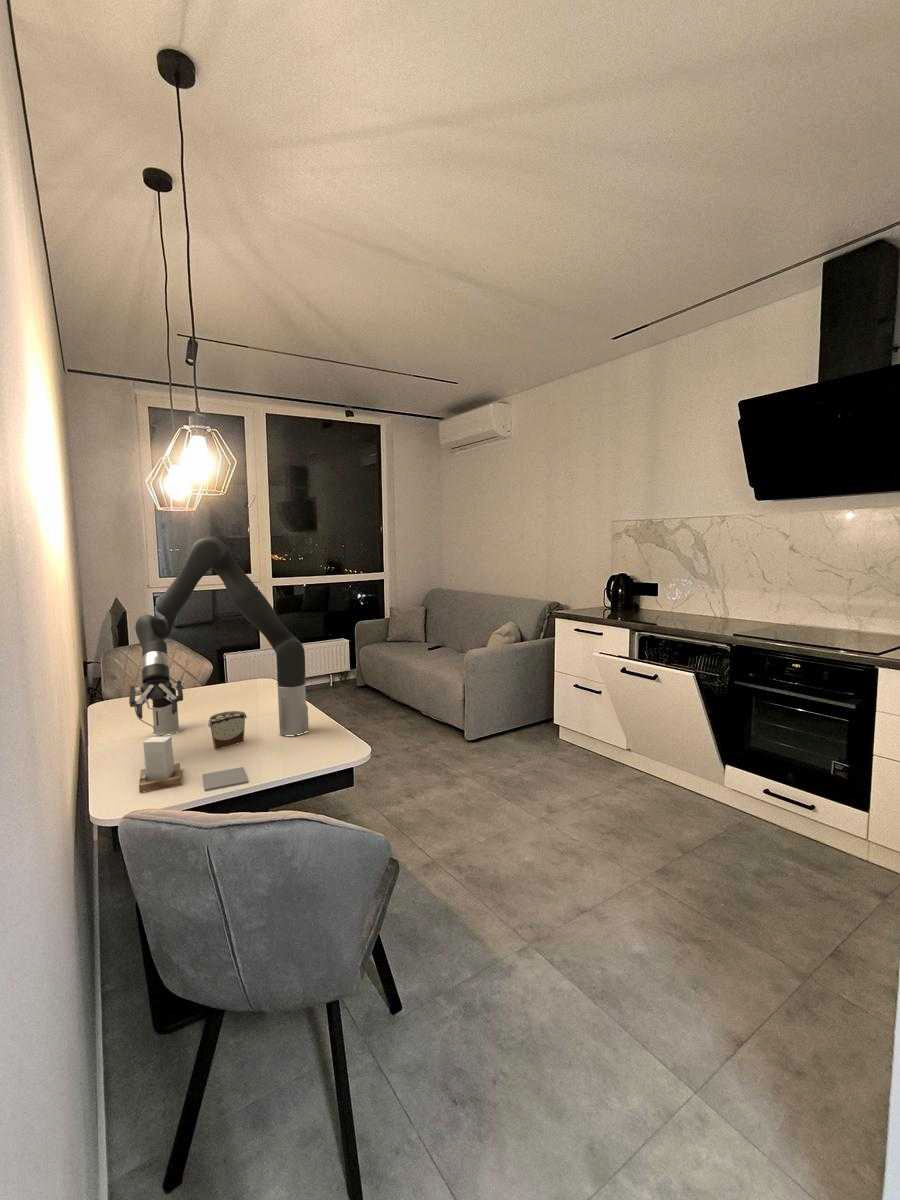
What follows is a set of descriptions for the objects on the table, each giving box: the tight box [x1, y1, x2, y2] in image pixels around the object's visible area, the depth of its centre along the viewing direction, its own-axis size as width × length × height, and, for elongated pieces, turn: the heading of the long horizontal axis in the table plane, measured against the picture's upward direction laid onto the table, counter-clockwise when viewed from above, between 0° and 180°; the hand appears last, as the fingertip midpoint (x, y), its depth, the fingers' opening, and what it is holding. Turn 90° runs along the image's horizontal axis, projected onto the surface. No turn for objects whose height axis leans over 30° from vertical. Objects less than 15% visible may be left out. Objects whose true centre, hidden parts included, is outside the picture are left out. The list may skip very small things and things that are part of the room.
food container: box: [207, 710, 248, 751], centre depth 182 cm, size 12×6×10 cm, turn 134°
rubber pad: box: [201, 766, 249, 792], centre depth 155 cm, size 11×11×1 cm
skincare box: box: [143, 736, 175, 782], centre depth 154 cm, size 6×4×12 cm
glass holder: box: [133, 687, 181, 736], centre depth 192 cm, size 9×14×15 cm, turn 141°
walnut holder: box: [138, 762, 182, 793], centre depth 154 cm, size 10×12×2 cm
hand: (157, 715), depth 163 cm, fingers open, 8 cm apart
